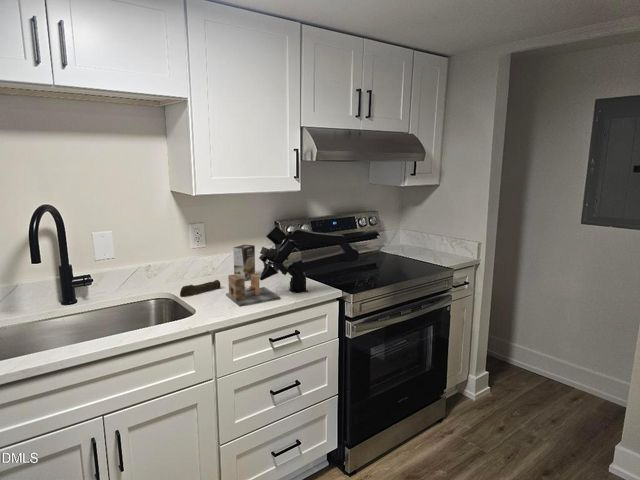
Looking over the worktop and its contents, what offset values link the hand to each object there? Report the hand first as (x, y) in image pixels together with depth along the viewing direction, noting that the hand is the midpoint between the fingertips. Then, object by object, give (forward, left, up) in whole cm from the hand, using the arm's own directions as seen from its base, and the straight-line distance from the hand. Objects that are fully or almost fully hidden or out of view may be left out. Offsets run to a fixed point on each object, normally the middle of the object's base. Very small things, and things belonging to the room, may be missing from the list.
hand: (260, 279), depth 182 cm
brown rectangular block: (+6, 0, -6) cm, 8 cm away
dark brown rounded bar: (+21, -17, -8) cm, 28 cm away
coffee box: (-4, -29, -7) cm, 30 cm away
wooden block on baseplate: (+4, 0, -7) cm, 8 cm away
